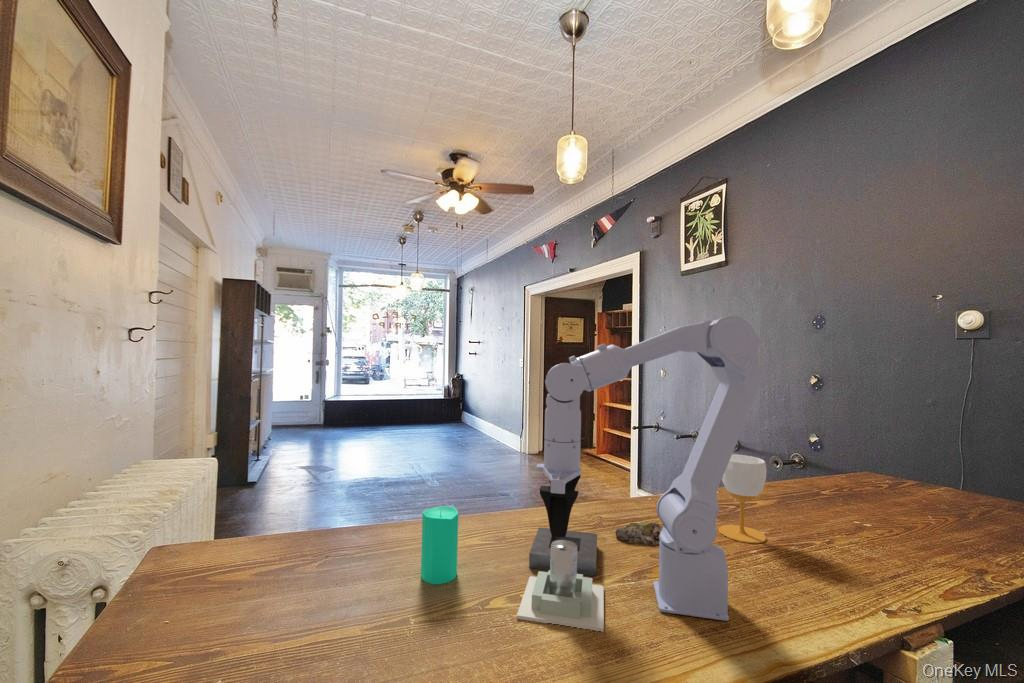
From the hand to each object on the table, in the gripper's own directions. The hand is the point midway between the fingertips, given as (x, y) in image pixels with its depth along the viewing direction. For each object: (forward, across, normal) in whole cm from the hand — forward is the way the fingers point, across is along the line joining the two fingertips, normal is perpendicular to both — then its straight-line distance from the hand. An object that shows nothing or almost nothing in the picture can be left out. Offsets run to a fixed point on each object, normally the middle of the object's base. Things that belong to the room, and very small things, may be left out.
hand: (560, 525), depth 68 cm
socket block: (+10, -12, 0) cm, 16 cm away
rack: (+10, +3, +1) cm, 11 cm away
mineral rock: (+11, -25, +15) cm, 31 cm away
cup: (+11, -32, +36) cm, 49 cm away
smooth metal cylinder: (+10, +3, +1) cm, 10 cm away
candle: (+11, -1, -20) cm, 23 cm away
